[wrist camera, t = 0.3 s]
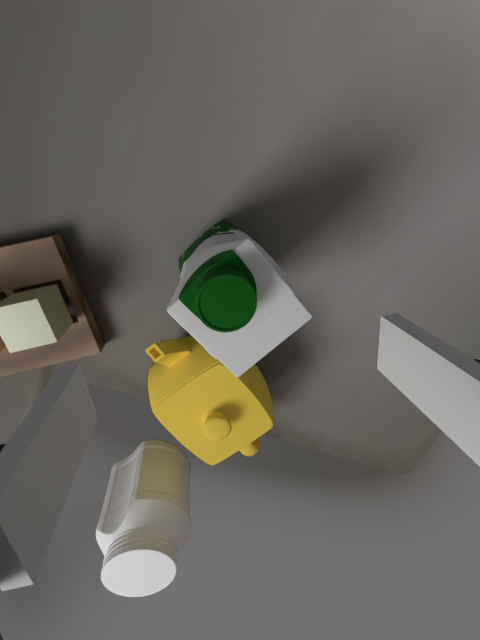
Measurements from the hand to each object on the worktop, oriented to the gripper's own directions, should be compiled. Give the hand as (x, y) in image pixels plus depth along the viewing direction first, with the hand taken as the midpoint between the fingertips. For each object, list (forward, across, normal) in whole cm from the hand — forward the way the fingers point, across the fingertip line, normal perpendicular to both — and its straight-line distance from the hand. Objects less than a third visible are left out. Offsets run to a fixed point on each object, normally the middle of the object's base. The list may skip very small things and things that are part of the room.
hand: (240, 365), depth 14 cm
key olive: (+24, -18, -3) cm, 30 cm away
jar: (+28, -13, -32) cm, 44 cm away
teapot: (+28, -2, -16) cm, 32 cm away
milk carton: (+28, +2, -2) cm, 28 cm away
